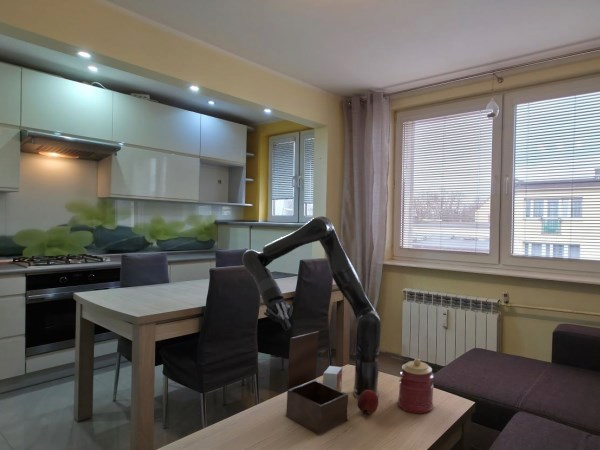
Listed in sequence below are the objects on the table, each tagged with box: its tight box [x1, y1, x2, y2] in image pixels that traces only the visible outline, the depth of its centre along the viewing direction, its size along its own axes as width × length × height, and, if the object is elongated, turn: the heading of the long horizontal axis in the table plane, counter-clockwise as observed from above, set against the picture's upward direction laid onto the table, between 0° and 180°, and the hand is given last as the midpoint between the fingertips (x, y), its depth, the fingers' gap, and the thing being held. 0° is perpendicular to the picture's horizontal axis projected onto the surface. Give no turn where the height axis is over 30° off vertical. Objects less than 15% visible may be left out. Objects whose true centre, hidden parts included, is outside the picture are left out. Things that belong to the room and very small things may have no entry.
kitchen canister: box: [397, 358, 435, 414], centre depth 143 cm, size 13×13×18 cm
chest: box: [285, 379, 349, 435], centre depth 130 cm, size 17×13×9 cm
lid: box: [286, 330, 320, 390], centre depth 135 cm, size 18×13×1 cm
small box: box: [322, 365, 343, 391], centre depth 147 cm, size 8×6×10 cm
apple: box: [356, 390, 379, 415], centre depth 136 cm, size 7×8×8 cm
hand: (288, 329), depth 141 cm, fingers closed
